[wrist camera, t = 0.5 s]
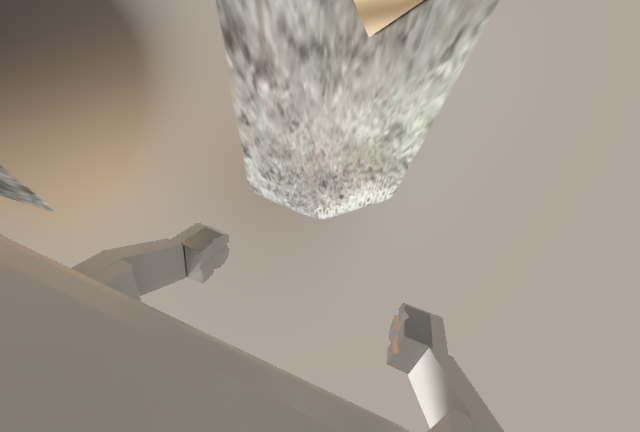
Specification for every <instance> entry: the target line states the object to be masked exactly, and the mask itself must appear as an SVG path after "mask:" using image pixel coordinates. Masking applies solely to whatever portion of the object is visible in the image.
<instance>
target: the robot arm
mask: <svg viewBox="0 0 640 432" xmlns="http://www.w3.org/2000/svg"><path fill="white" fill-rule="evenodd" d="M227 242H229V236H228V235H227V234H226V233H223V232H221V231H219V230H216V229H214V228H212V227H209V226H206V225H204V224H201V223H196V224H194V225H193V226H191V227H189V228H188V229H186V230H185V231H183V232H181V233H180V234H178V235H177V236H176V237H174V238H172V239H162V240H157V241H152V242H146V243H141V244H136V245H131V246H126V247H120V248H115V249H110V250H104V251H102V252H100V253H98V254H96V255H94V256H93V257H91V258H89V259H87V260H85V261H83V262H81V263H80V264H78V265H76V266H74V267H72V268H69V267H67V266H65V265H63V264H61V263H58V262H56V261H54V260H52V259H50V258H48V257H46V256H44V255H41V254H40V253H37V252H35V251H33V250H31V249H29V248H27V247H25V246H23V245H21V244H19V243H17V242H15V241H12V240H10V239H8V238H6V237H4V236H2V235H0V432H412V431H410V430H408V429H406V428H404V427H402V426H400V425H398V424H395V423H393V422H391V421H389V420H387V419H385V418H383V417H381V416H379V415H377V414H375V413H372V412H370V411H368V410H366V409H364V408H362V407H360V406H358V405H355V404H354V403H352V402H349V401H347V400H345V399H343V398H341V397H339V396H337V395H335V394H333V393H330V392H328V391H326V390H324V389H322V388H320V387H318V386H316V385H314V384H311V383H310V382H307V381H305V380H303V379H301V378H299V377H297V376H295V375H293V374H291V373H289V372H286V371H284V370H282V369H280V368H278V367H276V366H274V365H272V364H270V363H268V362H265V361H263V360H261V359H259V358H257V357H255V356H253V355H251V354H249V353H247V352H244V351H242V350H240V349H238V348H236V347H234V346H232V345H230V344H228V343H226V342H224V341H221V340H220V339H217V338H215V337H213V336H211V335H209V334H207V333H205V332H203V331H201V330H198V329H196V328H194V327H192V326H190V325H188V324H186V323H184V322H182V321H180V320H178V319H176V318H173V317H171V316H169V315H167V314H165V313H163V312H161V311H159V310H157V309H155V308H153V307H150V306H148V305H146V304H144V303H142V302H141V299H140V296H142V295H144V294H147V293H149V292H152V291H154V290H157V289H159V288H162V287H164V286H167V285H169V284H172V283H174V282H177V281H179V280H182V279H184V278H186V277H188V278H191V279H194V280H196V281H198V282H201V283H204V282H205V281H206V280H207V279H208V278H209V277H210V276H211V275H212V274H213V272H214V269H217V268H219V267H221V266H222V265H223V264H224V263H225V261H226V259H227V257H228V254H229V249H228V247H227V245H226V244H227ZM389 340H390V342H391V344H390V346H389V347H388V354H387V364H388V365H390V366H392V367H394V368H397V369H399V370H401V371H403V372H405V373H408V376H409V379H410V381H411V384H412V386H413V389H414V391H415V393H416V396H417V398H418V400H419V403H420V405H421V408H422V410H423V412H424V415H425V417H426V420H427V422H428V425H429V427H430V430H429V431H427V432H504V431H503V429H502V428H501V426H500V425H499V423H498V422H497V420H496V419H495V417H494V416H493V414H492V413H491V412H490V410H489V409H488V408H487V406H486V404H485V403H484V402H483V400H482V399H481V397H480V396H479V394H478V393H477V391H476V390H475V388H474V387H473V386H472V384H471V383H470V381H469V380H468V378H467V377H466V376H465V374H464V373H463V371H462V370H461V368H460V367H459V365H458V364H457V363H456V361H455V360H454V358H453V357H452V356H450V355H448V349H447V342H446V336H445V329H444V322H443V319H442V317H440V316H437V315H434V314H432V313H429V312H426V311H424V310H421V309H418V308H416V307H413V306H410V305H408V304H405V303H403V304H402V305H401V307H400V308H399V315H396V316H395V317H394V319H393V321H392V324H391V327H390V333H389Z"/></svg>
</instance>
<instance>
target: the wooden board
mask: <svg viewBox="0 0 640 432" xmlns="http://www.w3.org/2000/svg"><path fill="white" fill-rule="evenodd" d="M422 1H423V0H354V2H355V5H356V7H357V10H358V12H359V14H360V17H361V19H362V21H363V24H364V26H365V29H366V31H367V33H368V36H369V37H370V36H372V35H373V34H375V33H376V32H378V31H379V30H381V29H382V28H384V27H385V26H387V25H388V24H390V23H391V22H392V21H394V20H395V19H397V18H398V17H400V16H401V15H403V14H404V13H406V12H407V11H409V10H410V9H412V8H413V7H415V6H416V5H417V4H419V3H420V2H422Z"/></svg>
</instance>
